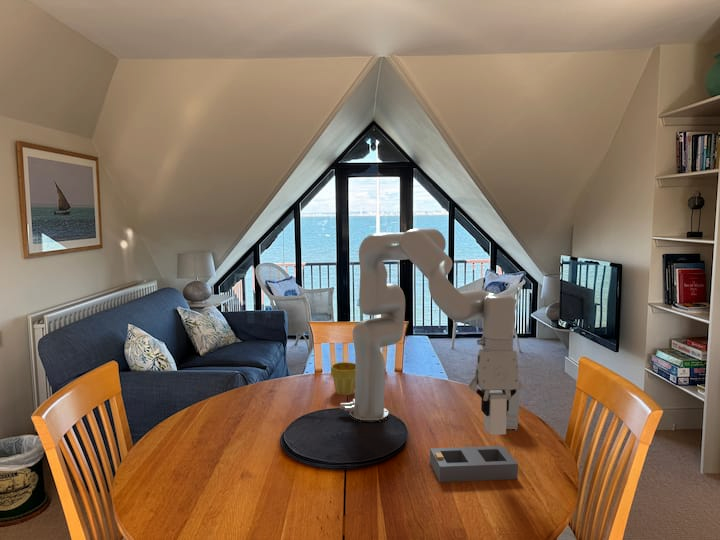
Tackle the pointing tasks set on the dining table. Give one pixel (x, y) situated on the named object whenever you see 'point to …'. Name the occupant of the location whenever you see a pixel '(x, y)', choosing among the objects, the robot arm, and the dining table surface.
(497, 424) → the plug
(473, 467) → the power strip
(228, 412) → the dining table surface
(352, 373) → the plant pot
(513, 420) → the supplement box
